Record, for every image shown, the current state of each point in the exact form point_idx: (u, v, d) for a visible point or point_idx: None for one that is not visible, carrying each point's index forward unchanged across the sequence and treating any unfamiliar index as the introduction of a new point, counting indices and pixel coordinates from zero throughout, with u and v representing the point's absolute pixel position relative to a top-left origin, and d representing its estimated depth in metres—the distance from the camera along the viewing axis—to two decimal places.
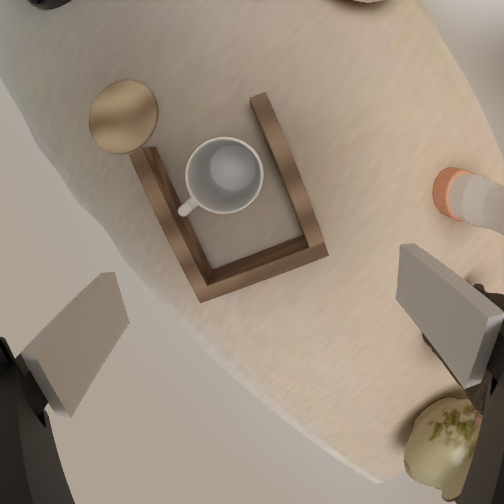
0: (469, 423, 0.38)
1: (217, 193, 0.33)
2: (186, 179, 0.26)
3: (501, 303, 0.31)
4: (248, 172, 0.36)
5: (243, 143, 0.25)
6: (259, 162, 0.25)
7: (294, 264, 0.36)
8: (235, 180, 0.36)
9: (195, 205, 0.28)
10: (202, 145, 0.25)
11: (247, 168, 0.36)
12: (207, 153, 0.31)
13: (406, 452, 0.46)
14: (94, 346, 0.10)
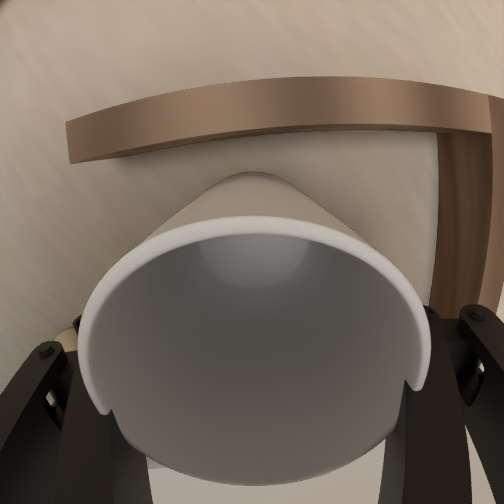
0: None
1: (303, 310, 0.12)
2: (226, 483, 0.06)
3: None
4: None
5: (110, 284, 0.04)
6: (239, 228, 0.04)
7: None
8: (285, 239, 0.15)
9: None
10: None
11: None
12: (190, 310, 0.12)
13: None
14: None
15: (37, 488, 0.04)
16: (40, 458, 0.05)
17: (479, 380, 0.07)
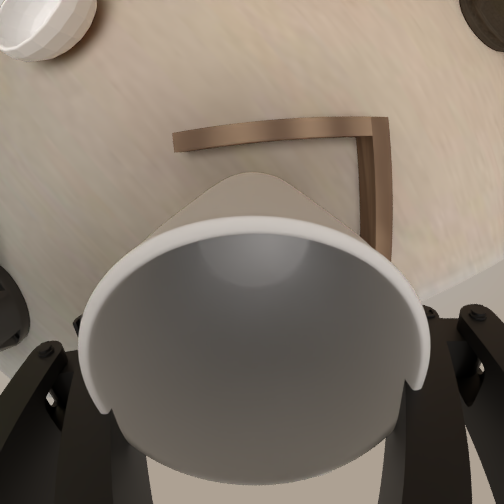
0: None
1: (303, 310, 0.13)
2: (227, 482, 0.06)
3: None
4: None
5: (111, 283, 0.04)
6: (239, 228, 0.04)
7: (386, 160, 0.26)
8: (285, 239, 0.15)
9: None
10: None
11: None
12: (190, 310, 0.12)
13: None
14: None
15: (36, 487, 0.04)
16: (40, 458, 0.05)
17: (479, 380, 0.07)
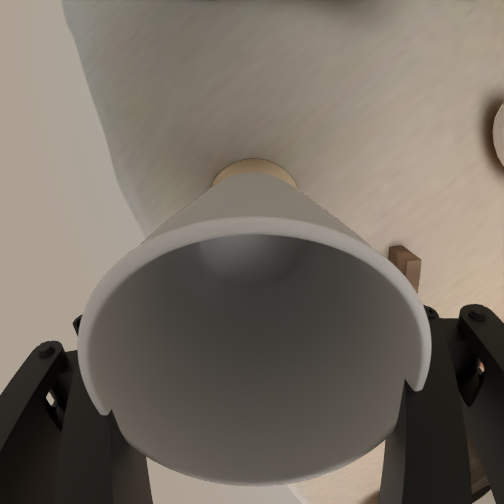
0: None
1: (304, 311, 0.12)
2: (227, 483, 0.06)
3: None
4: None
5: (110, 284, 0.04)
6: (240, 229, 0.04)
7: None
8: (285, 239, 0.15)
9: None
10: None
11: None
12: (190, 311, 0.12)
13: None
14: None
15: (36, 487, 0.04)
16: (40, 458, 0.05)
17: (479, 380, 0.07)
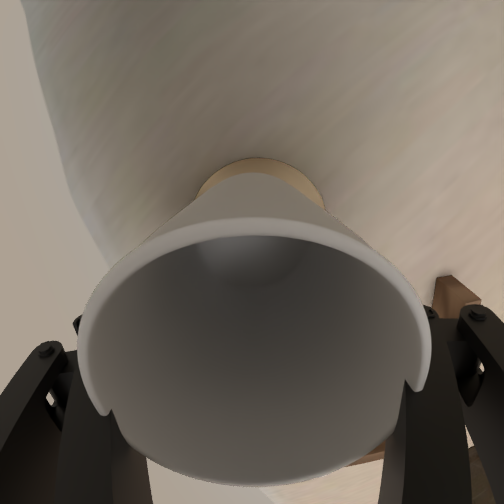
0: None
1: (304, 311, 0.12)
2: (227, 484, 0.06)
3: None
4: None
5: (110, 285, 0.04)
6: (239, 230, 0.04)
7: None
8: (285, 240, 0.15)
9: None
10: None
11: None
12: (190, 311, 0.12)
13: None
14: None
15: (37, 487, 0.04)
16: (40, 458, 0.05)
17: (479, 380, 0.07)
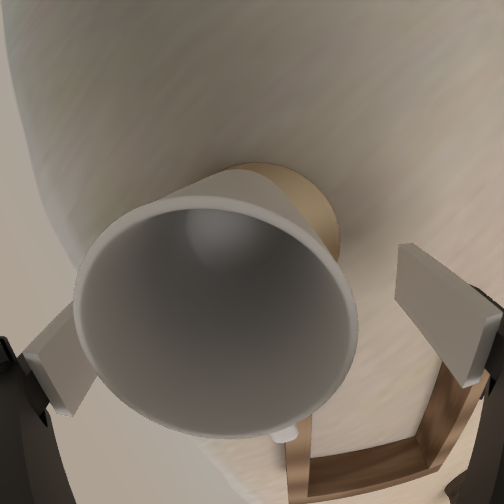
0: None
1: (278, 293, 0.14)
2: (193, 434, 0.08)
3: None
4: None
5: (99, 247, 0.06)
6: (186, 204, 0.05)
7: (406, 480, 0.22)
8: (266, 230, 0.17)
9: None
10: (97, 369, 0.07)
11: None
12: (176, 290, 0.13)
13: None
14: None
15: None
16: None
17: None
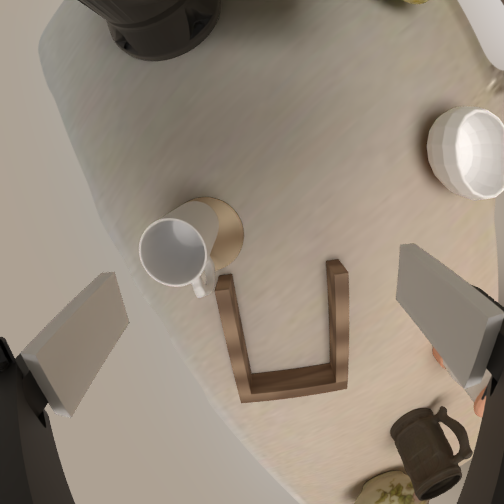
0: (408, 497, 0.47)
1: None
2: (169, 285, 0.29)
3: (455, 429, 0.40)
4: None
5: (147, 229, 0.27)
6: (165, 219, 0.27)
7: (321, 391, 0.43)
8: None
9: (198, 281, 0.31)
10: (143, 264, 0.28)
11: None
12: (167, 250, 0.35)
13: None
14: (94, 346, 0.10)
15: None
16: None
17: None
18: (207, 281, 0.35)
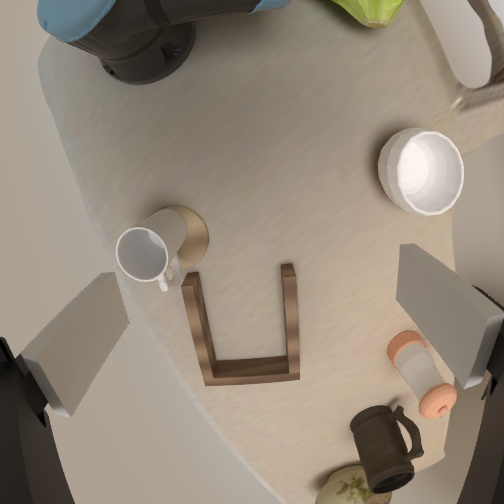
0: (368, 490, 0.55)
1: None
2: (139, 280, 0.35)
3: (408, 428, 0.48)
4: None
5: (122, 235, 0.34)
6: (136, 228, 0.33)
7: (275, 380, 0.49)
8: None
9: (163, 278, 0.37)
10: (119, 262, 0.35)
11: None
12: (142, 251, 0.41)
13: (318, 497, 0.61)
14: (94, 346, 0.10)
15: None
16: None
17: None
18: (173, 278, 0.41)
